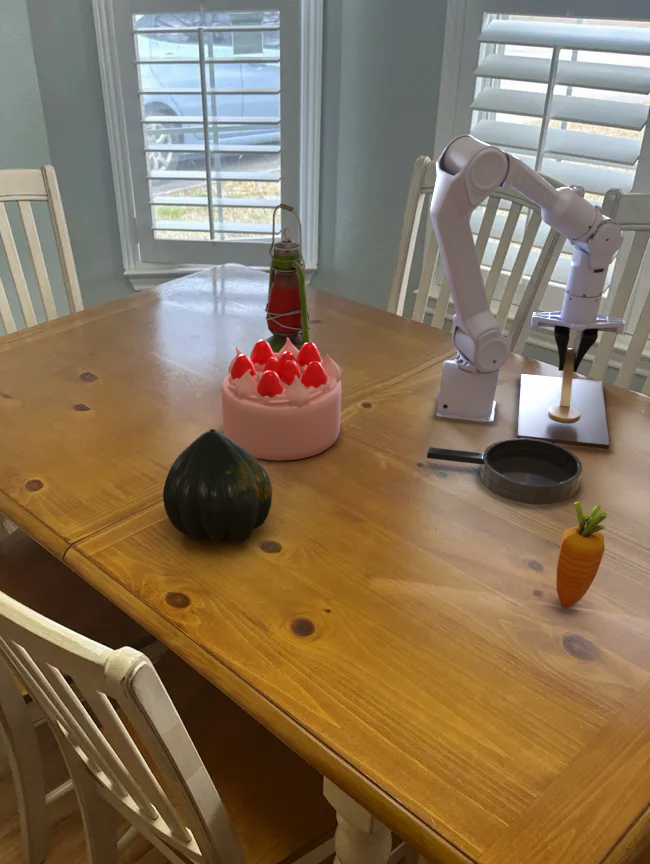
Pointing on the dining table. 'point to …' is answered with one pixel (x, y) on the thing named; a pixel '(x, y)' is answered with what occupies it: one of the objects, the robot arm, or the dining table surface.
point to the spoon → (566, 394)
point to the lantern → (287, 292)
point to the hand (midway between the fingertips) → (567, 369)
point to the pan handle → (455, 455)
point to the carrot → (579, 556)
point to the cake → (282, 401)
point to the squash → (217, 490)
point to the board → (546, 394)
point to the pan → (530, 470)
